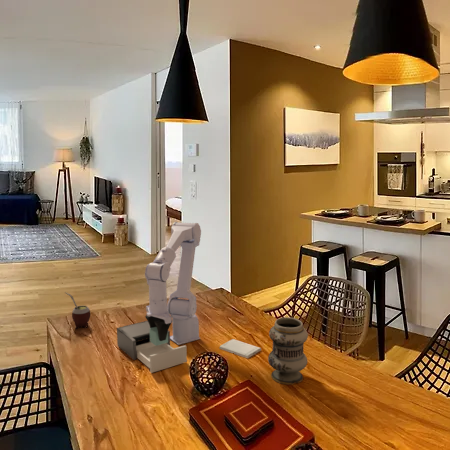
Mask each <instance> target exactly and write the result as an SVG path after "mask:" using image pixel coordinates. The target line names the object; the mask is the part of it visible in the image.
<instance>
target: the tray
mask: <svg viewBox="0 0 450 450" xmlns="http://www.w3.org/2000/svg"><path fill="white" fill-rule="evenodd" d="M187 355H188V353H187V345H186V344H185V345H184V344H183V345H181V346H178V347H173V346H171V344H170V345H168V344H167V343H164V344H161V345H157V346H156V345H154V344H153V343H152V342H150V341H148V342H144V343H141V344H136V359H138V360H139V361H140V362H142V364H144V365H145V366H146V367H147V368H148V369H149V372H150V373H151V374H152V373H156V372H159V371H162V370H165V369H169V368H171V367H174V366H178V365H180V364H181V365H182V364H185V363H187V362H188V359H187Z"/></svg>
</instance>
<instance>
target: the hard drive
mask: <svg viewBox="0 0 450 450" xmlns="http://www.w3.org/2000/svg"><path fill="white" fill-rule="evenodd" d="M219 349H220V350H223V351H225V352H229V353H231V354H233V353H234V355H236V356H239V357H243V358H246V359H249V358H251V357H252V356H254V355H256V354H258V353H259V352H260V351H262V348H261V347H258V346H256V345H253V344H249V343H246V342H243V341H241V340H237V339H234V338H232V339H230V340H228V341H226V342H225V343H223V344H221V345H220V346H219Z"/></svg>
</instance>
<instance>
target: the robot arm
mask: <svg viewBox="0 0 450 450" xmlns="http://www.w3.org/2000/svg"><path fill="white" fill-rule="evenodd" d="M170 229H171V230H170V238H169V240H168V242H167V244H166V246H164V247H162V248H161V249H160V250H159V252H158V253H157V255H156V256H155V258H154V259H153V262H150V263H148V264H147V265H146V267H145V271H144V276H145V277H144V278H145V279H146V284H147V286H148V297H149V298H148V301H149V305H146V306H145V311H146V314H145V319H146V321H148V323H149V325H150V328H153V327H157V330H158V336H159V340H160V341H163V340H166V337H167V333H168V330H169V329H170V327H171V325H172V335H170V341H172V342H173V343H176V345H178V346H179V345H184V344H186V343H187V344H188V343H191V342H194V341H197V340H200V339H201V336H200V323H199V322H200V321H199V318H198V316H197V315H196V313H197V308H198V307H197V297H196V295H195V294H194V293H193V292H192V291H191V287H192V278H193V269H194V261H195V255H196V247H199V246H200V243H201V235H202V229H201V226H200V224H199V223H198V222H195V223H194V222H178V221H174V222H173V224H172V225H171V228H170ZM180 247H181V254H180V255H181V256H180V265H179V271H178V279H177V284H176V290H174V291H173V292H172V293H170V294H169V299H168V298H167V295H168V294H167V291H168V290H167V281H168V279H169V278H170V272H171V269H172V268H171V266H172V264H173V263H174V261H175V260H176V257H177V254H176V252H177V251H178V249H179V248H180Z"/></svg>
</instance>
